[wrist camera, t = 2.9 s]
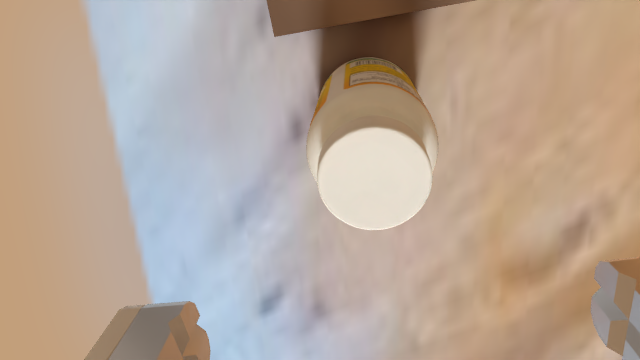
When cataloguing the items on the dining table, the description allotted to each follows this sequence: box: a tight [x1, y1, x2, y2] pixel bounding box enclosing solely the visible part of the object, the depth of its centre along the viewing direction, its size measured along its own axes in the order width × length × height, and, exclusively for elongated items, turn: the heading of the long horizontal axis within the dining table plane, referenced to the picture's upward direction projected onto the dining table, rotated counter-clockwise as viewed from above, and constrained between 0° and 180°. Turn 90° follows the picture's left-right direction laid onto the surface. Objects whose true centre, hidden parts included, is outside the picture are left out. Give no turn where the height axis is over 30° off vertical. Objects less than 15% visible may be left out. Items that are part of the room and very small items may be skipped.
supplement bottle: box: [306, 57, 438, 230], centre depth 19 cm, size 5×5×10 cm
